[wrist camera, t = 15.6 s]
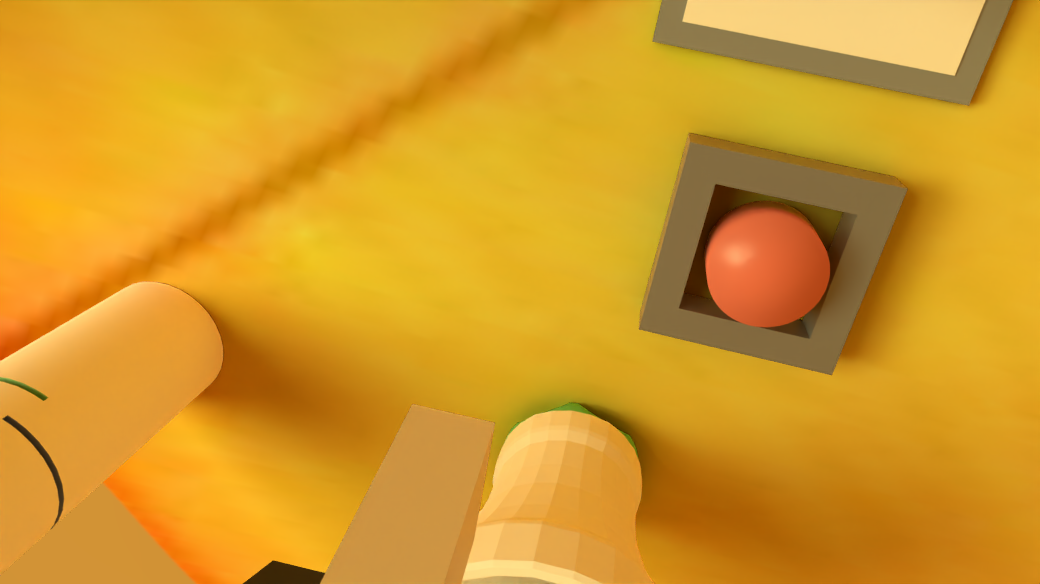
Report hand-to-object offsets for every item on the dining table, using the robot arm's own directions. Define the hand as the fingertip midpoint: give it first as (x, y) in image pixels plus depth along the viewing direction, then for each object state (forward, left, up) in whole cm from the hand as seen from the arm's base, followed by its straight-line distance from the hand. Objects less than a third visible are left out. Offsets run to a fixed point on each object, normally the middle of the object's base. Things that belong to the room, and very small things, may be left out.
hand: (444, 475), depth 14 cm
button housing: (+9, -2, -23) cm, 25 cm away
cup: (+3, -16, -24) cm, 29 cm away
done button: (+9, -2, -23) cm, 24 cm away
